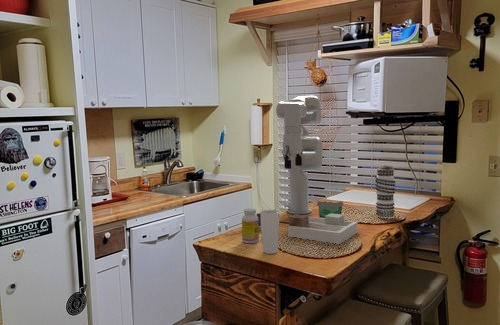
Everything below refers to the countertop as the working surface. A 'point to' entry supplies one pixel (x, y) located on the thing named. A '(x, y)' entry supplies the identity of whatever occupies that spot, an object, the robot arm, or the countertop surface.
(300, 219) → the brown block with stick
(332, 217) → the sage block
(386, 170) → the decorative candle
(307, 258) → the countertop surface
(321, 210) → the food container
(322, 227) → the white tray
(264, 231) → the drinking glass
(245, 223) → the supplement bottle
